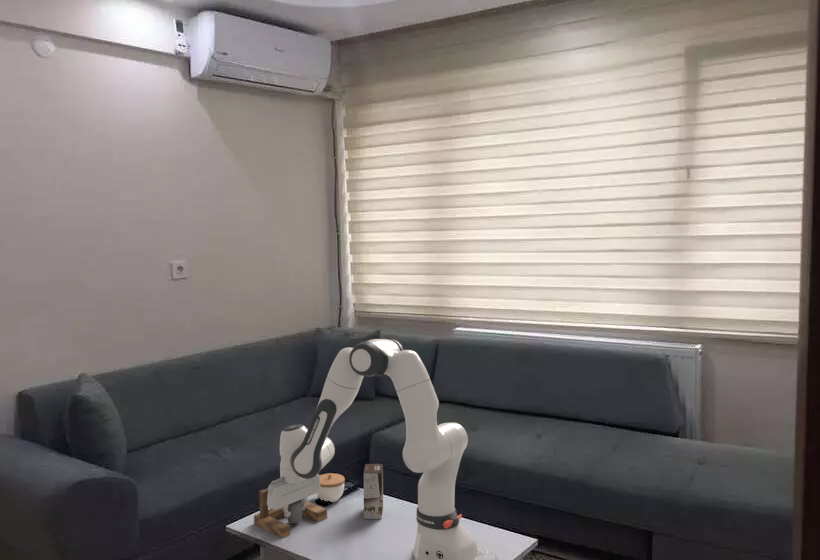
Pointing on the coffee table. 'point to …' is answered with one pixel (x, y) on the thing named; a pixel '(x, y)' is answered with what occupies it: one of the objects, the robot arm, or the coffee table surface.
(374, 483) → the coffee box
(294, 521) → the grey cylinder
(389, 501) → the coffee table surface
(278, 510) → the wooden crossbar stand
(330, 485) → the lidded jar
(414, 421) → the robot arm
